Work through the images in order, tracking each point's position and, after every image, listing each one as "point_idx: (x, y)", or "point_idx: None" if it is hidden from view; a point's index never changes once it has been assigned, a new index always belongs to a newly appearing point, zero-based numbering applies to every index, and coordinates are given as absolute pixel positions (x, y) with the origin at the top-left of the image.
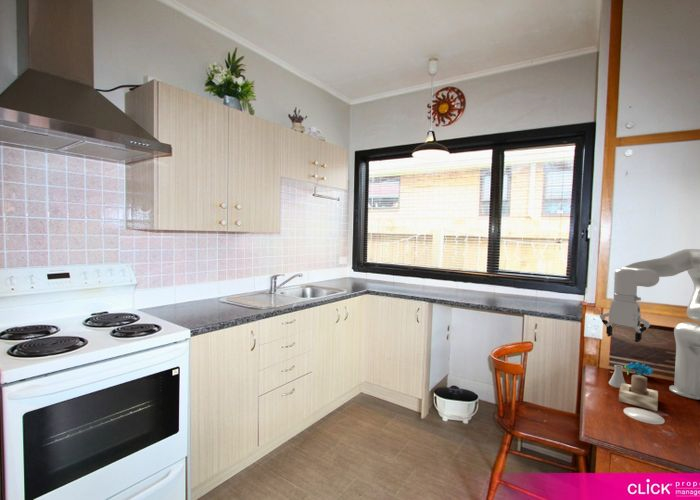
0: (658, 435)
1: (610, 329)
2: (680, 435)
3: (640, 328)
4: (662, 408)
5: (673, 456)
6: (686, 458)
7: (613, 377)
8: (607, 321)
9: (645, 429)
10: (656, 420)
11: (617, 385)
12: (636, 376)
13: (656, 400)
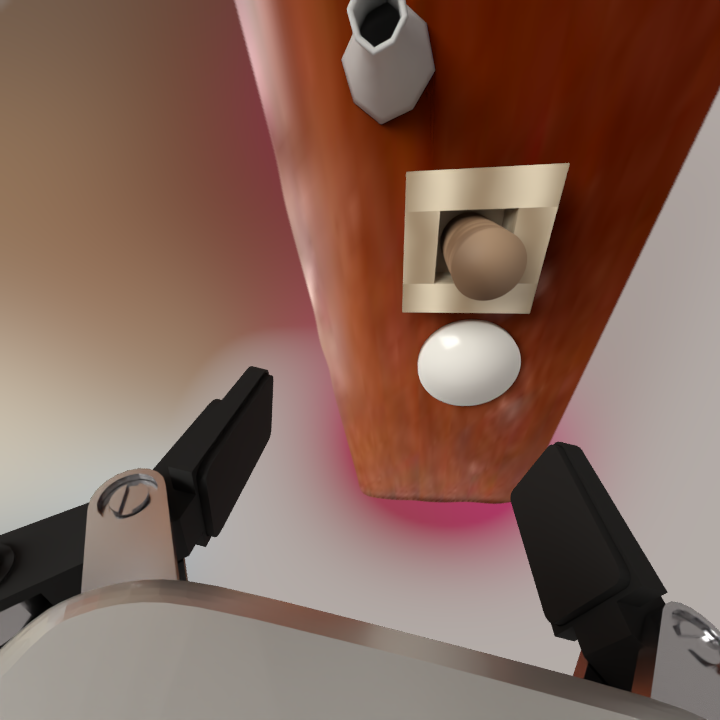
0: (486, 431)
1: (229, 491)
2: (538, 404)
3: (708, 713)
4: None
5: (496, 488)
6: None
7: (362, 75)
8: (41, 586)
9: (462, 420)
10: (496, 380)
11: (387, 108)
12: (474, 269)
13: (525, 312)
